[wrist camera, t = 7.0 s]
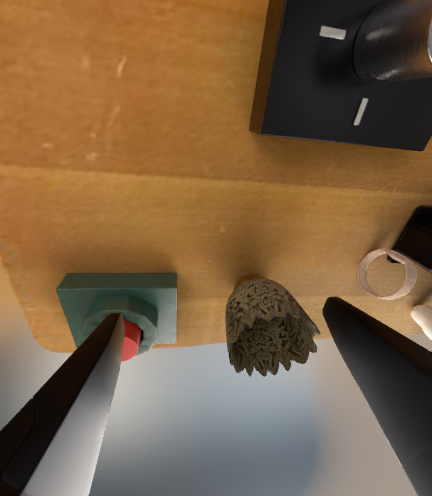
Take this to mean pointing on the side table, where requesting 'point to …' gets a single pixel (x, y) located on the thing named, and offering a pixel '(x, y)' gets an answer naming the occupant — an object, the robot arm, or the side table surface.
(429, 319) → the lightbulb
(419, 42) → the knob
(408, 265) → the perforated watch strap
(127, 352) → the button
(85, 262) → the side table surface
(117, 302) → the green block with collar
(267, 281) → the cup
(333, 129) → the panel
